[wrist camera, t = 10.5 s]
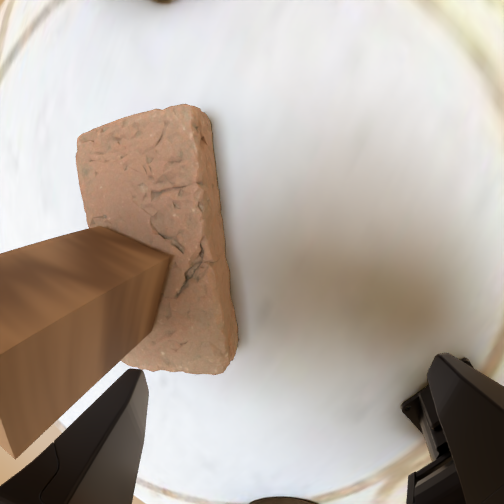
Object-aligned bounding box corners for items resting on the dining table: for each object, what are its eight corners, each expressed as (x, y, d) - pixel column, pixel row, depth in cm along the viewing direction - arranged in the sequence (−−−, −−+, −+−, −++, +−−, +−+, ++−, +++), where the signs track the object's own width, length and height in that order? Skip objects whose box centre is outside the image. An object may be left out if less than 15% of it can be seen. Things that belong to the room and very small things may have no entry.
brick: (244, 348, 23) (229, 385, 18) (144, 345, 24) (115, 374, 20) (216, 112, 19) (190, 94, 15) (111, 137, 21) (70, 131, 17)
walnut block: (170, 256, 17) (-14, 363, 6) (152, 331, 18) (15, 459, 7) (100, 225, 18) (-80, 281, 6) (89, 297, 19) (-56, 382, 7)
